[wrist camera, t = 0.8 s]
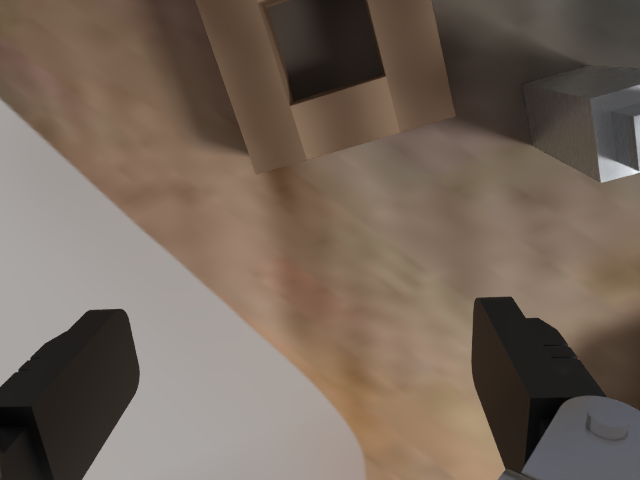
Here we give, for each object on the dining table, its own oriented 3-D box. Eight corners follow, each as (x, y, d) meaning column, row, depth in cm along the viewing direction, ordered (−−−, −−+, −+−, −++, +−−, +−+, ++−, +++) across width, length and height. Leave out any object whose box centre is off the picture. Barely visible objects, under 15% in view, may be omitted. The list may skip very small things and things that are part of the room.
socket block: (397, -100, 29) (404, -125, 25) (443, 107, 33) (455, 116, 29) (204, -30, 31) (180, -42, 27) (267, 159, 35) (255, 174, 31)
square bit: (587, 64, 32) (715, 73, 21) (595, 128, 33) (720, 168, 22) (521, 84, 32) (611, 103, 21) (532, 145, 34) (621, 193, 22)
